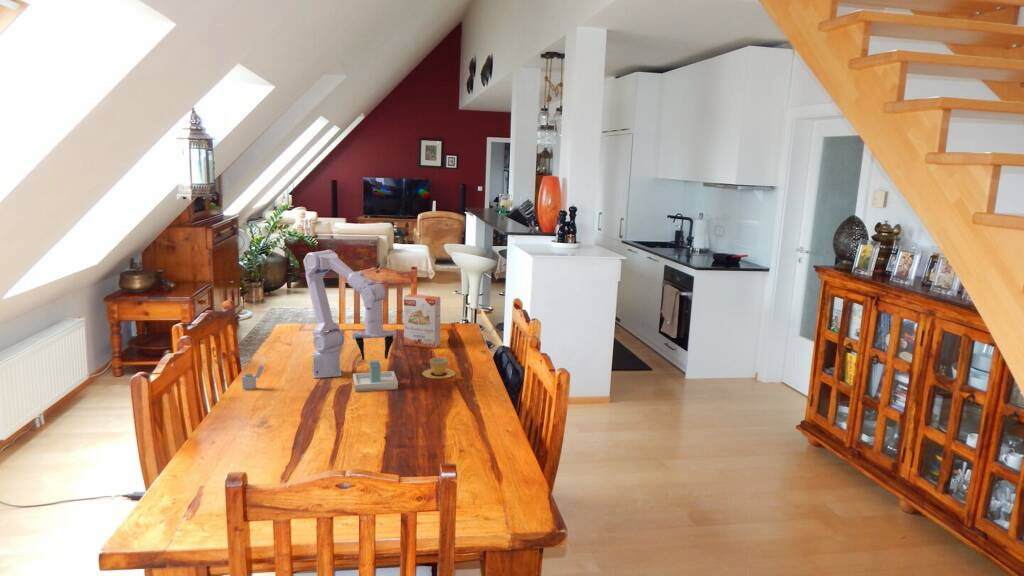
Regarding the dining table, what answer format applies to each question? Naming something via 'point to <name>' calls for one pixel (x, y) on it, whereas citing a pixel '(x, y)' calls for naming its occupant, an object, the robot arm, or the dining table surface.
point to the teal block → (374, 371)
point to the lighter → (251, 379)
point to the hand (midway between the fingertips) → (374, 358)
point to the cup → (438, 369)
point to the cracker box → (422, 321)
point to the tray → (386, 383)
